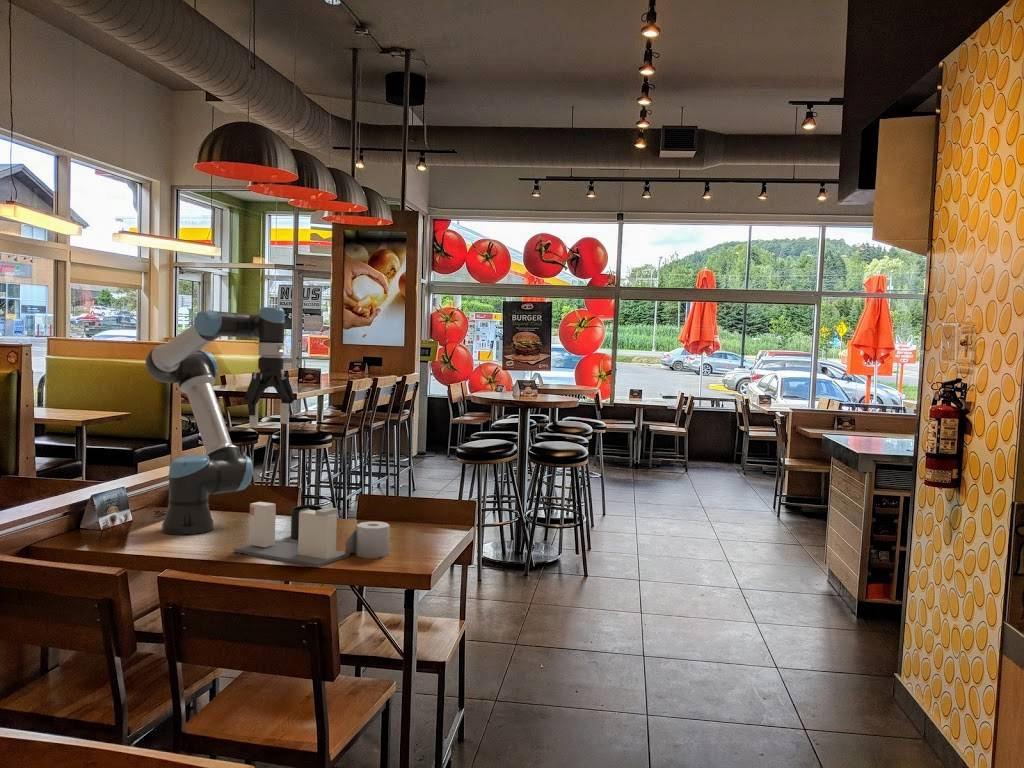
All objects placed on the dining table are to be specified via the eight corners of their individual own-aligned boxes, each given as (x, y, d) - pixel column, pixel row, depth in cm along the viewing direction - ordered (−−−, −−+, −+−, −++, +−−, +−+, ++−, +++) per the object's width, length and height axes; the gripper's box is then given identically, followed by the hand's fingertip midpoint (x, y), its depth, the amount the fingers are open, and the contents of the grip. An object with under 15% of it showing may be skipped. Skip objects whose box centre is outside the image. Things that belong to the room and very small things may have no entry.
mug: (319, 542, 235) (320, 513, 234) (284, 538, 238) (285, 509, 238) (334, 536, 244) (335, 507, 243) (301, 532, 247) (301, 504, 247)
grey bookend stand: (233, 552, 220) (234, 502, 219) (268, 542, 232) (269, 495, 232) (317, 567, 207) (319, 515, 207) (349, 556, 220) (350, 506, 219)
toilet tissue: (338, 555, 221) (339, 525, 221) (378, 548, 230) (379, 520, 229) (353, 562, 214) (354, 531, 214) (394, 555, 223) (395, 525, 222)
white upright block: (248, 544, 224) (249, 503, 223) (259, 541, 227) (260, 501, 227) (264, 547, 221) (265, 506, 221) (274, 544, 225) (275, 503, 224)
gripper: (251, 356, 227) (249, 428, 228) (307, 358, 250) (305, 423, 250) (232, 355, 230) (230, 426, 231) (288, 357, 253) (287, 421, 253)
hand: (269, 425), depth 240 cm, fingers open, 13 cm apart
